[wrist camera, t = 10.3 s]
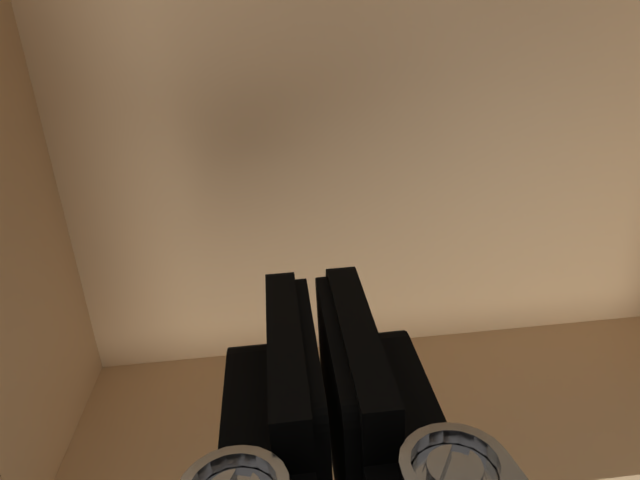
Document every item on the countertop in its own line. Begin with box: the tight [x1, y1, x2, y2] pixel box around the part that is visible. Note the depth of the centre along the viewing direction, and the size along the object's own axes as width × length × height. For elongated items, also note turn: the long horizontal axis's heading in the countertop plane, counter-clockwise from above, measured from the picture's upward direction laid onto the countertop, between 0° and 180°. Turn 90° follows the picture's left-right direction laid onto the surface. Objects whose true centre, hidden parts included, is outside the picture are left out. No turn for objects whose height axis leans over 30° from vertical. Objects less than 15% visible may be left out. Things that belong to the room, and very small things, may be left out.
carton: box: [0, 0, 640, 480], centre depth 18 cm, size 26×20×9 cm
